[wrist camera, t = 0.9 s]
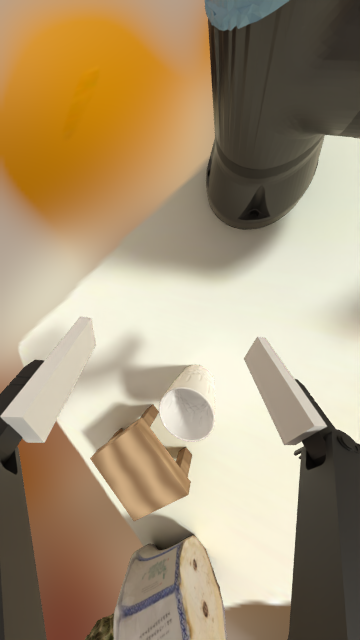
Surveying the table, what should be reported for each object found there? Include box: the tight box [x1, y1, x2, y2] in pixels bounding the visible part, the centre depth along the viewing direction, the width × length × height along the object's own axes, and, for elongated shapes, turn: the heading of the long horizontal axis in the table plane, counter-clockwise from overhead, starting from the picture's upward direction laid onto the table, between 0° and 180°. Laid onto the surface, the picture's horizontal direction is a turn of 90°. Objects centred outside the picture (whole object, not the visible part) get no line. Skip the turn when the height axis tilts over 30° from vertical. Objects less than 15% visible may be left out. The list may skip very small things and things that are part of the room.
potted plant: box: [85, 536, 227, 640], centre depth 29 cm, size 18×18×30 cm
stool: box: [90, 405, 192, 521], centre depth 32 cm, size 14×14×7 cm
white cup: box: [159, 365, 215, 442], centre depth 27 cm, size 8×8×10 cm
